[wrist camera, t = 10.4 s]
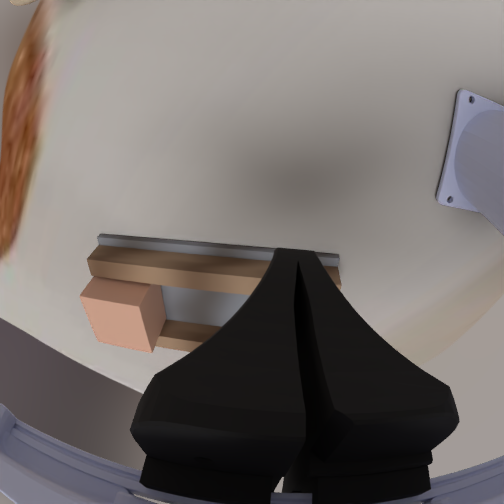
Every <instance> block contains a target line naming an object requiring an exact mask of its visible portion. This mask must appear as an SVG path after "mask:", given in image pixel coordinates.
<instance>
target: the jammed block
mask: <svg viewBox="0 0 504 504" xmlns="http://www.w3.org/2000/svg"><path fill="white" fill-rule="evenodd" d="M80 299H81V301H82V304H83V307H84V309H85V312H86V314H87V317H88V319H89V322H90V324H91V326H92V329H93V331H94V333H95V336H96V338H97V340H98V341H99V342H103V343H107V344H111V345H115V346H120V347H124V348H129V349H134V350H139V351H144V352H149V353H152V352H153V350H154V347H155V345H156V342H157V340H158V337H159V335H160V332H161V330H162V328H163V325H164V323H165V320H166V313H165V307H164V302H163V297H162V291H161V286H160V285H156V284H148V283H140V282H133V281H126V280H119V279H112V278H105V277H98V276H94V277H93V278H92V279H91V281H90V282H89V283H88V285H87V286H86V288H85V289H84V290H83V292H82V293H81V294H80Z"/></svg>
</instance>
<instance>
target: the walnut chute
mask: <svg viewBox="0 0 504 504" xmlns="http://www.w3.org/2000/svg"><path fill="white" fill-rule="evenodd" d="M97 239H98V243H99V245H98V247H97V248H96V249H95V250H94V251H93V252H92V254H91V255H90V256H89V257H88V258H87V262H88V265H89V269H90V272H91V275H92V276H98V277H105V278H112V279H119V280H126V281H133V282H140V283H148V284H156V285H160V286H161V291H162V297H163V302H164V307H165V313H166V320H165V323H164V325H163V328H162V330H161V332H160V335H159V337H158V340H157V342H156V345H155V346H158V347H163V348H169V349H175V350H181V351H187V352H192V351H193V350H194V349H196V348H197V347H198V346H199V345H201V344H202V343H203V342H205V341H206V340H207V339H209V338H210V337H211V336H212V335H213V334H215V333H216V332H217V331H218V330H219V329H220V328H221V327H222V326H223V325H224V324H225V323H226V322H227V321H228V320H229V319H230V318H231V317H232V316H233V315H234V314H235V313H236V312H237V311H238V310H239V309H240V307H241V306H242V305H243V304H244V303H245V301H246V300H247V299H248V298H249V296H250V295H251V294H252V292H253V291H254V289H255V288H256V287H257V285H258V284H259V282H260V281H261V279H262V277H263V275H264V274H265V272H266V270H267V269H268V267H269V264H270V262H271V260H272V258H273V254H274V250H275V249H271V248H260V247H248V246H237V245H226V244H214V243H202V242H191V241H179V240H167V239H155V238H143V237H131V236H119V235H107V234H100V235H99V236H98V237H97ZM315 253H316V252H315ZM316 254H317V256H318V258H319V260H320V261H321V263H322V265H323V266H324V268H325V269H326V271H327V272H328V274H329V276H330V277H331V279H332V280H333V281H334V283H335V284H336V286H337V287H338V289H339V290H340V289H341V280H340V275H339V271H338V263H339V259H340V258H339V255H338V254H327V253H316Z"/></svg>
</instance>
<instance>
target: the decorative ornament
mask: <svg viewBox="0 0 504 504" xmlns="http://www.w3.org/2000/svg"><path fill="white" fill-rule="evenodd" d="M34 1H36V0H10V2H11V3H12V4H13V5H16V6H23V5H26V4H30V3H32V2H34Z"/></svg>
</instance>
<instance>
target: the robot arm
mask: <svg viewBox="0 0 504 504" xmlns="http://www.w3.org/2000/svg"><path fill="white" fill-rule="evenodd" d="M470 96H471V98H472V101H471V102H469V97H470ZM449 196H451V198H450V200H449V201H447V198H448V197H449ZM436 199H437V201H438V202H439V203H440V204H441V205H445V206H450V207H455V208H460V209H465V210H470V211H475V212H479V213H482V214H483V215H484V216H485V217H486V218H487V219H488V220H489V221H490V222H491V223H492V224H493V225H494V226H495V227H496V228H497V229H498V230H499V231H500V232H501V233H502V234H503V235H504V106H502V105H500V104H497V103H495V102H493V101H491V100H489V99H486V98H484V97H482V96H479V95H477V94H475V93H472V92H470V91H467V90H463V89H461V90H459V91H458V93H457V99H456V106H455V113H454V119H453V125H452V130H451V136H450V141H449V146H448V151H447V155H446V160H445V164H444V168H443V172H442V176H441V180H440V184H439V188H438V192H437V196H436ZM458 423H459V416H458V412H457V408H456V404H455V401H454V398H453V395H452V392H451V390H450V387H449V386H448V385H446V384H444V383H443V382H441V381H439V380H438V379H436V378H435V377H433V376H431V375H430V374H428V373H427V372H425V371H423V370H422V369H420V368H419V367H418V366H416V365H415V364H414V363H412V362H411V361H410V360H408V359H407V358H405V357H404V356H403V355H402V354H400V353H399V352H398V351H397V350H395V349H394V348H393V347H392V346H391V345H390V344H388V343H387V342H386V341H385V340H384V339H383V338H382V337H381V336H379V335H378V334H377V333H376V332H375V331H374V330H373V329H372V328H371V327H370V326H369V325H368V324H367V323H366V322H365V321H364V319H363V318H362V317H361V316H360V315H359V314H358V313H357V312H356V311H355V310H354V308H353V307H352V306H351V305H350V303H349V302H348V301H347V300H346V298H345V297H344V296H343V294H342V293H341V291H340V290H339V289H338V287H337V286H336V284H335V283H334V281H333V280H332V279H331V277H330V276H329V274H328V272H327V271H326V269H325V268H324V266H323V265H322V263H321V261H320V260H319V258H318V256H317V254H316V253H315V252H314V251H309V250H298V249H286V248H277V249H275V250H274V254H273V258H272V260H271V262H270V264H269V267H268V269H267V270H266V272H265V274H264V275H263V277H262V279H261V281H260V282H259V284H258V285H257V287H256V288H255V289H254V291H253V292H252V294H251V295H250V296H249V298H248V299H247V300H246V301H245V303H244V304H243V305H242V306H241V307H240V309H239V310H238V311H237V312H236V313H235V314H234V315H233V316H232V317H231V318H230V319H229V320H228V321H227V322H226V323H225V324H224V325H223V326H222V327H221V328H220V329H219V330H218V331H217V332H216V333H215V334H213V335H212V336H211V337H210V338H209V339H207V340H206V341H205V342H203V343H202V344H201V345H199V346H198V347H197V348H196V349H194V350H193V351H192V352H190V353H189V354H187V355H186V356H185V357H183V358H181V359H180V360H178V361H177V362H175V363H173V364H172V365H170V366H168V367H167V368H165V369H164V370H162V371H160V372H158V373H157V374H155V375H154V377H153V378H152V380H151V382H150V383H149V385H148V386H147V388H146V390H145V392H144V394H143V396H142V398H141V399H140V402H139V404H138V407H137V410H136V413H135V416H134V419H133V422H132V425H131V428H130V431H131V434H132V436H133V438H134V439H135V441H136V442H137V443H138V444H139V446H140V447H141V448H142V450H143V451H144V452H145V453H146V454H147V456H146V459H145V463H144V467H143V470H142V471H140V470H137V469H134V468H130V467H127V466H124V465H121V464H118V463H115V462H112V461H109V460H106V459H103V458H101V457H98V456H95V455H93V454H90V453H87V452H85V451H82V450H80V449H78V448H75V447H73V446H70V445H68V444H66V443H64V442H61V441H59V440H57V439H55V438H53V437H51V436H49V435H46V434H45V433H42V432H41V431H38V430H36V429H35V428H33V427H31V426H29V425H27V424H25V423H23V422H22V421H20V420H18V419H16V417H15V416H14V415H13V413H12V412H11V411H10V410H8V409H7V408H6V407H5V406H4V405H3V404H1V403H0V492H2V493H3V494H4V495H5V496H7V497H8V498H9V499H10V500H12V501H13V502H14V503H15V504H157V503H154V502H151V501H148V500H145V499H142V498H139V497H136V496H134V494H136V495H140V496H143V497H147V498H150V499H154V500H158V501H161V502H165V503H170V504H421V503H422V504H504V456H501V457H499V458H496V459H494V460H491V461H488V462H485V463H482V464H480V465H477V466H474V467H471V468H467V469H464V470H461V471H458V472H454V473H451V474H447V475H443V476H439V477H436V478H431V479H430V477H429V470H428V465H429V464H431V463H432V461H433V458H432V452H431V450H432V449H433V448H435V447H436V446H437V445H439V444H440V443H441V442H442V441H444V440H445V439H446V438H447V437H448V436H449V435H450V434H451V433H452V432H453V431H454V430H455V429H456V427H457V425H458ZM282 477H284V481H283V488H282V493H275V492H274V490H275V488H276V486H277V484H278V483H279V481H280V480H281V478H282Z"/></svg>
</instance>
